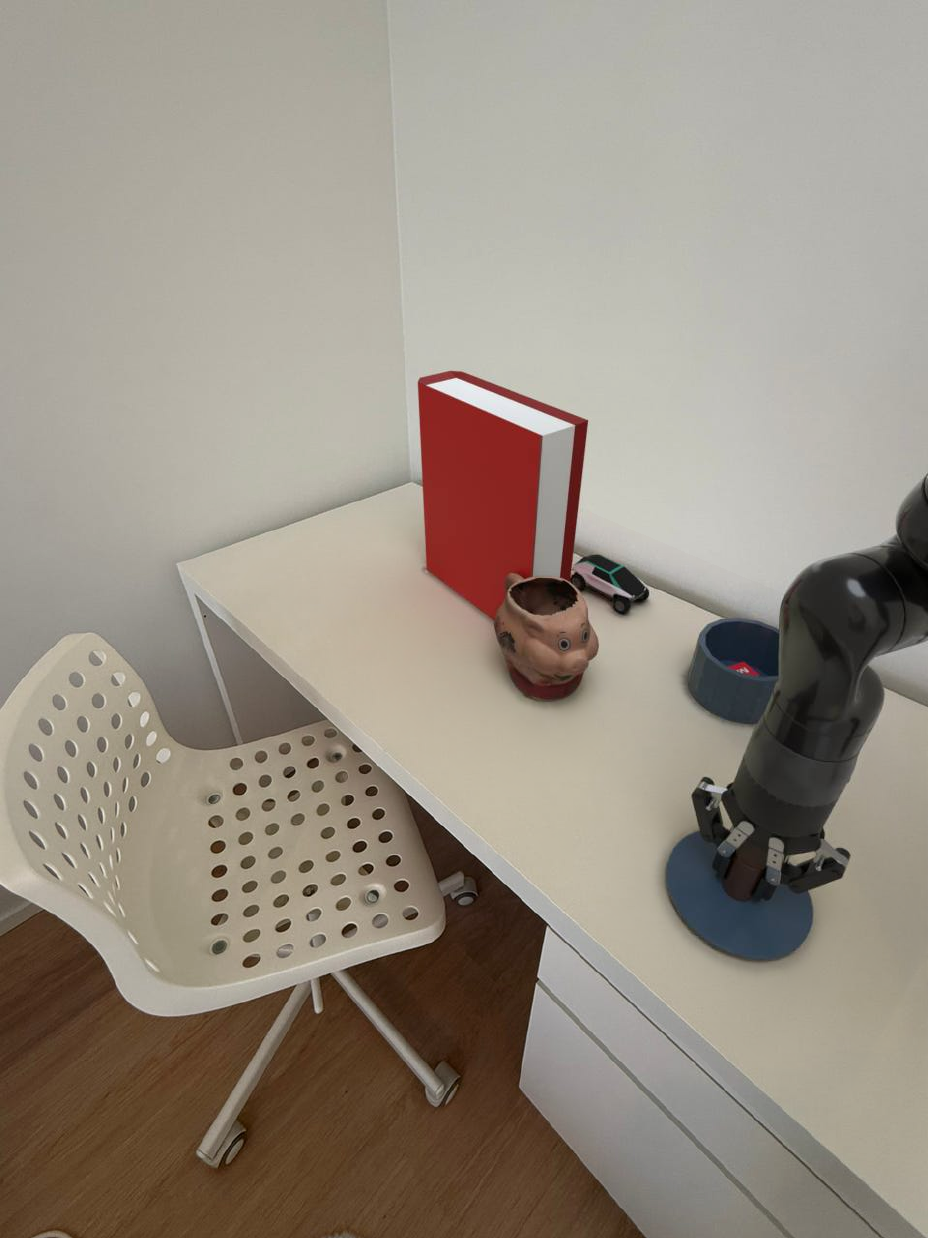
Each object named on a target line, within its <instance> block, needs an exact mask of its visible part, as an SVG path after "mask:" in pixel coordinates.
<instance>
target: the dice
mask: <svg viewBox="0 0 928 1238" xmlns="http://www.w3.org/2000/svg"><path fill="white" fill-rule="evenodd" d="M729 668H731V669H734V670H736V671H738V672H741V673H744V674H749V675H755V676H760V675H759V674H758V673H757V672H756V671H754V670H753V669H752V668H751V667H750V666H748V665H747V664H746V663H745V662H741V663H738V664H735V665H732V666H729Z"/></svg>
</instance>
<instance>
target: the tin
mask: <svg viewBox="0 0 928 1238" xmlns="http://www.w3.org/2000/svg"><path fill="white" fill-rule="evenodd" d="M693 652H694V653H693V655H692V658H691V659H692V660H691V663H690V667H689V671H688V677H687V686H688V689H689V692H690V694H691V695H692V697H693V698H694V699H695V701H696V702H697V703H698V704H700V706H702V707H703V708H704V709H705V710H707V711H709V712H710V713H711V714H713V715H716V716H717V717H720V718H722V719H725V720H728V721H731V722H734V723H735V722H736V723H740V724H750V725H751V724H753V725H756V724H757V723H758V721H759V719H760V718H761V716H762V715H763V713H764V711H765V708H766V706H767V703H768V701H769V698H770V695H771V693H772V690H773V688H774V685H775V683H776V680H777V678H778V676H779V662H778V652H779V627H775V626H773V625H770V624H768V623H765V622H762V621H760V620H755V619H749V618H743V617H728V618H727V617H726V618H719V619H717V620H715V621H714V620H713V621H712V622H709V623H707V624H706V625H705V626H704V627H703V629H702V630H701V631H700V632H699V633H698V637H697V642H696V644H695V648H694V651H693ZM741 662H745V663H746V664H747V665H748V666H750V667H751V668H752V669H753V670H754V671H756V672H757V673H758V674H759V675H760V676H755V675H749V674H744V673H741V672H738V671H736V670H734V669H731V668H729V666H732V665H735V664H738V663H741Z"/></svg>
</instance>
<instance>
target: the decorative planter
mask: <svg viewBox="0 0 928 1238" xmlns="http://www.w3.org/2000/svg"><path fill="white" fill-rule="evenodd" d="M504 583H505V600H504V602H503V603H502V604H501V606H500V607H499V608H498V610H497V612H496V615H495V619H494V620H493V628H494V633H495V637H496V641H497V643H498V645H499V647H500V649H501V652H502V655H503V658H504V660H505V663H506V664H507V667H508V671H509V676H510V677H511V678H510V679H511V680H512V682H513V683H514V685H515V686H516V687H517V689H519V690H520V691H521V692H522V693H523V695H524V696H526V697H529V698H532V699H534V700H539V701H555V700H556V701H557V700H560V699H561V700H562V699H564V698H566V697H569V696H570V695H572V694H573V693H574V692H576V691H577V689H578V688H579V687H580V685H581V682H582V680H583V677H584V673H585V672H586V670H587V669H588V667H589V663H590V661H591V660H593V659H594V658H595V657H597V655H598V653H599V647H600V643H599V637H598V635H597V633H596V631H595V630H594V627H593V626H592V625H591V623H590V620H589V608H588V605H587V602H586V600H585V599H584V597H583V595H582V593H581V590H578V589H577V588H576V587H575V586H574V585H573V584H571V582H569V581H567V580H565V579H563V578H560V577H555V576H534V577H529V578H526V579H524V578H523V577H522V576H520V575H518V574H515V573H510V574H509V575H508V576H507V578H506V580H505V581H504Z"/></svg>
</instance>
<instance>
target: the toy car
mask: <svg viewBox="0 0 928 1238" xmlns="http://www.w3.org/2000/svg"><path fill="white" fill-rule="evenodd" d="M572 571H574V572H573V574H571V579H570V583H571V584H573V585H574V586H575V587H576V588H577V589H578V590H579V591H582V590H584V589H585V588H586V587H588V588H590V589H591V590H594V591H596V592H598V593H600V594H601V595H603V596H605V597H606V598H609V599H611V600H612V606H613V608H614V610H615V612H617V613H619V614H622V615H624V614H627V613H628V612H629V611H630V610H631V607H632V605H631V603H633V602H634V601H637V602H640V603H641V602H642V603H643V602H645V601H647V600H648V599H649V597H650V591H649V589H648V585H647V584H646V583H645V582H644V581H643V580H641V579H640V578H638V577H637V576H635V574H633V573H632V571H630V570H629V569H628V568H627V567H626V566H624V565H622V564H620V563H618V562H616V561H613V560H612V559H610V558H608V557H606V556H603V554H602V555H601V554H590V555H588V556H583V557H581V558H580V559H579V560H578V561H577V562H575V563H572V570H571V572H572Z"/></svg>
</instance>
